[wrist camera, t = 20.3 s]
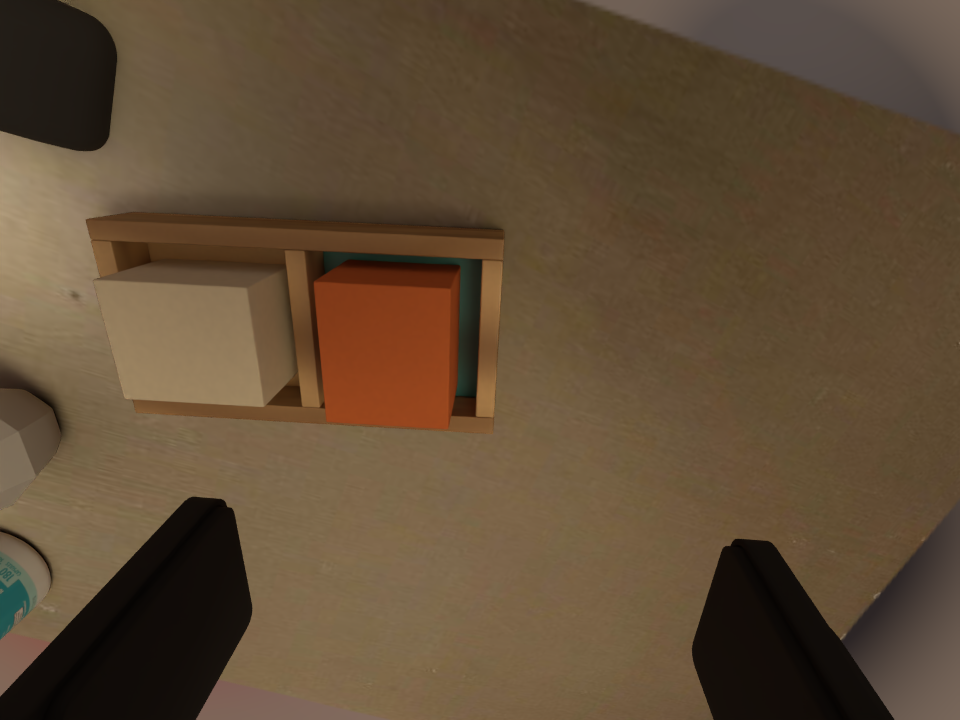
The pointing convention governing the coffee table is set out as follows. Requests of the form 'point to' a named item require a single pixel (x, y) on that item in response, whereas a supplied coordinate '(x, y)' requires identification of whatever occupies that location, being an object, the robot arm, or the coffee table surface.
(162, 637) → the robot arm
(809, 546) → the coffee table surface
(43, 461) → the apple
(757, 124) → the coffee table surface
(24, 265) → the coffee table surface
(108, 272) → the holder
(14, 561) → the pill bottle
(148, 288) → the beige block
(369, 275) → the orange block
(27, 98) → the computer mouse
